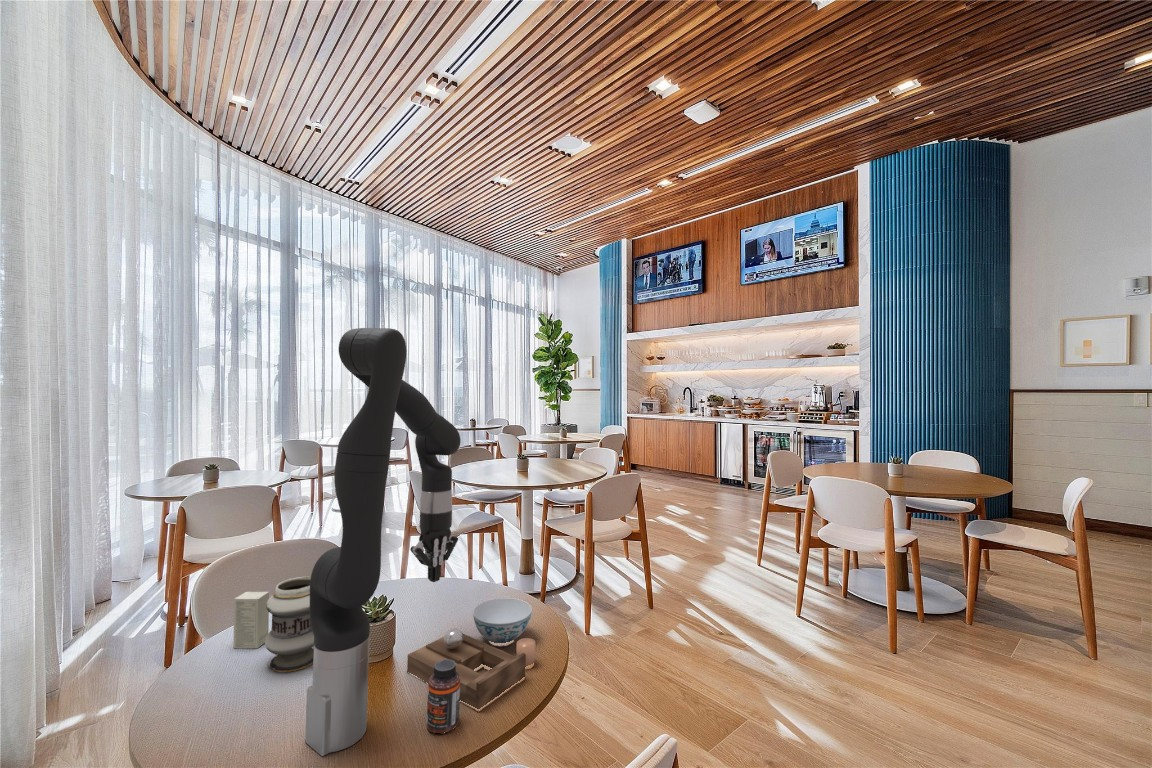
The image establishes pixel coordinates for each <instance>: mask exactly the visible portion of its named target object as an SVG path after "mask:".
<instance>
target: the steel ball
mask: <svg viewBox="0 0 1152 768" xmlns="http://www.w3.org/2000/svg"><path fill="white" fill-rule="evenodd" d="M463 634H464V633H463V631H462V630H461V629H460V628H458V627H452V628H450V629H449V630H447V631H446V632H445V634H444V636H443V637H444V644H445V646H446V647H447V648H449V649H457V648H458V647H460V645H461V644H462V642H463Z"/></svg>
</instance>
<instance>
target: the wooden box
mask: <svg viewBox="0 0 1152 768" xmlns="http://www.w3.org/2000/svg"><path fill="white" fill-rule="evenodd" d="M445 659H450V660H453V661H454V662H455V663H456V671H457V672H458V673H459V675H460V700H461V701H463V702H465V703H467V704H469V705H471V706H473V707H475V708H477V709H480V708H481V707H483V706H484V705H486V704H487V703H488V702H490V701H491V700H493V699H494V698H495V697H497V696H499V695H500V694H501V693H502V692H504V691H505V690H506V689H508V688H510V687H511V686H512V685H514V684H515V683H517V682H518V681H520V680H521V679H522V678H523V677H525V678H526V670H525V667H526V654H525V653H522V654H520V655H519V656H517V657H516V655H513V654H511V653H508V652H506V651H504V650H501V649H499V648H498V647H496V646H493V645H491V644H489V643H485V642H483V641H481V640H478V639H476V638H475V637H472V636H470V635H467V634H465V633H463V642H462V644H461V645H460V647H458V648H457V649H449V648H447V647H446V646H445V644H444V636H442V637H440V638H438V639H436V640H434V641H432V642H431V643H427V644H426V645H424V646H422V647H420V648H418V649H416V650H414V651H413V652H410V653H408V654H407V661H406V662H407V665H406V667H407V668H406V673H407V672H409V673H411V674H413V675H415V676H417V677H418V678H420V679H422V680H424V681H425V682H427V683H428V682H429V678H430V677H431V675H432V674H433V673H434V665H435V664H436V663H437V662H438V661H441V660H445ZM481 664H483V665H486V666H488V667H490V668H492V669H490V670H489V671H488V670H486V672H484V673H479V672H478V671H474V669H475V668H477V667H479V666H480V665H481ZM425 682H424V683H425Z"/></svg>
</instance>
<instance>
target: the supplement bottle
mask: <svg viewBox="0 0 1152 768" xmlns="http://www.w3.org/2000/svg"><path fill="white" fill-rule="evenodd" d="M459 701H460V675H459V673H458V672H457V671H456V663H455V662H454V661H453V660H450V659H445V660H441V661H438V662H437V663H436V664H435V665H434V673H433V674H432V675H431V677H430V678H429V682H428V684H427V705H426V727H427V730H428V732H430V731H431V732H430V733H432V732H433V733H432V734H435V733H444V732H448V731H450V730H452V729H453V728H454V727H455V726H456V725H457V726H458V724H459V722H458V721H459V720H460V702H459ZM457 726H456V727H457ZM456 727H455V728H456ZM455 728H454V729H455ZM454 729H453V730H454ZM453 730H452V731H453ZM450 732H451V731H450ZM448 733H449V732H448ZM444 734H445V733H444Z"/></svg>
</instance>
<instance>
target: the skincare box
mask: <svg viewBox="0 0 1152 768" xmlns="http://www.w3.org/2000/svg"><path fill="white" fill-rule="evenodd" d="M269 598H270V593H269V591H245V592H242V593H241V594H239V595H238V596H236V597H234V598H233V649H250V650H251V649H259V648H260V647H261V646H262V645H265V639H266V637H267V635H268V633H269V632H270V630H269V626H270V625H269V623H270V622H269V621H270V620H269V618H270V615H269V614H270V612H269V611H268V610H267V608H266V604H267V601H268V599H269Z"/></svg>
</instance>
